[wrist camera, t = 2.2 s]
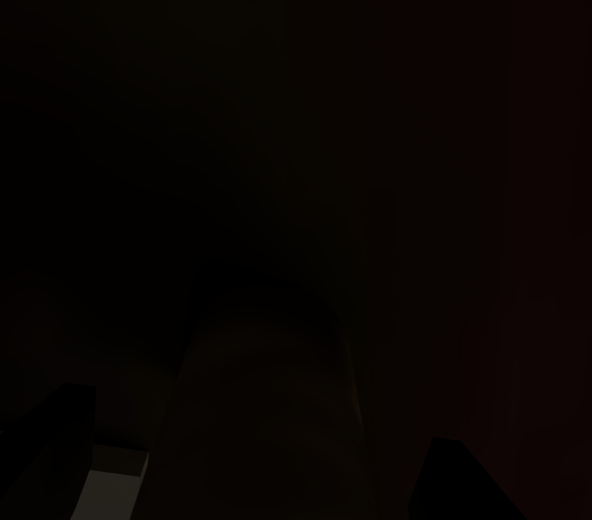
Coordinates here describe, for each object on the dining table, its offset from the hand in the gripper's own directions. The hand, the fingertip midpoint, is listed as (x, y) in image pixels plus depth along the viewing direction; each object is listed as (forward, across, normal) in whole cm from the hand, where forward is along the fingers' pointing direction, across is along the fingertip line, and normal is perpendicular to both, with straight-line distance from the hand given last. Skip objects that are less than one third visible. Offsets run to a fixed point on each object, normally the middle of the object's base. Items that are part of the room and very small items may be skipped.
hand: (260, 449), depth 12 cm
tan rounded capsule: (+4, 0, 0) cm, 4 cm away
